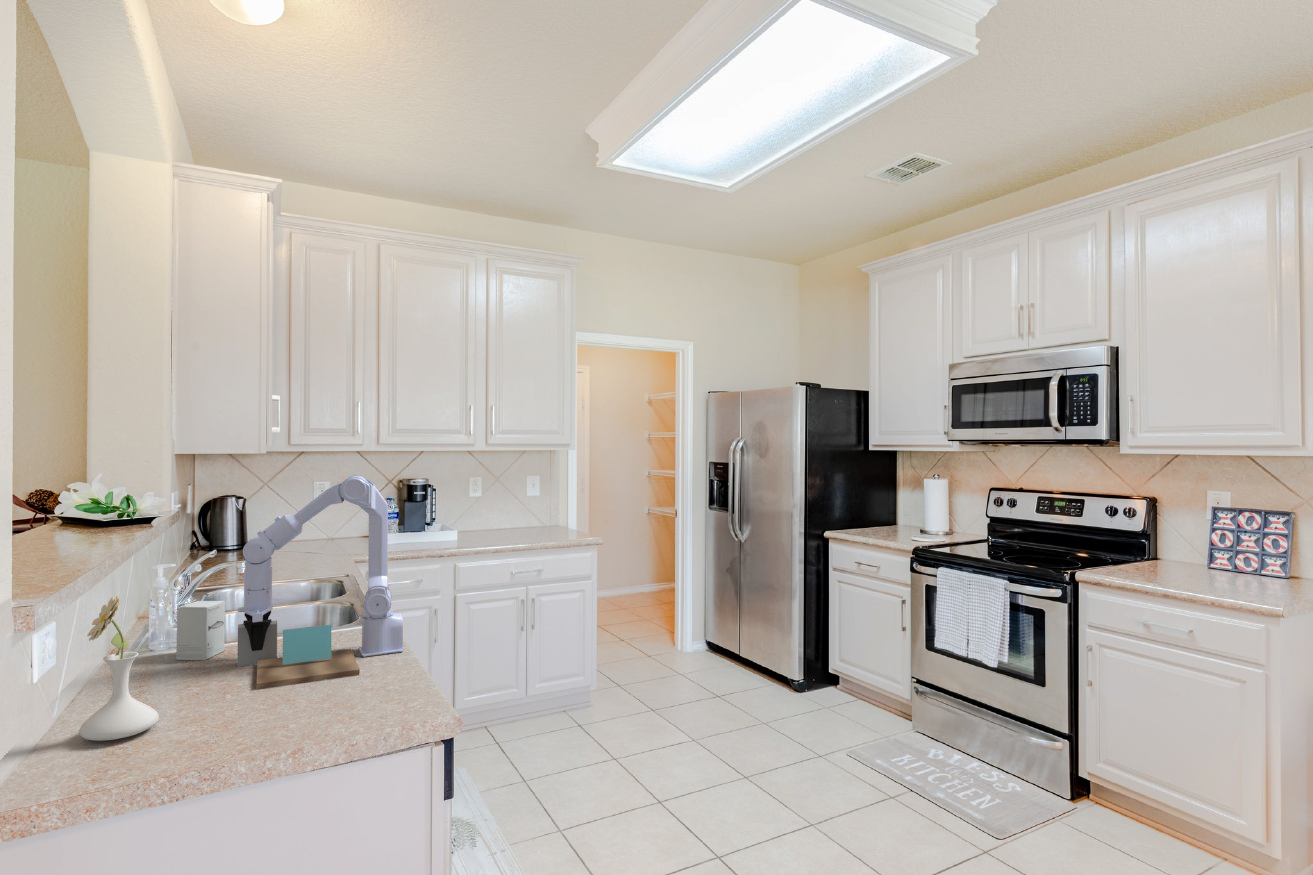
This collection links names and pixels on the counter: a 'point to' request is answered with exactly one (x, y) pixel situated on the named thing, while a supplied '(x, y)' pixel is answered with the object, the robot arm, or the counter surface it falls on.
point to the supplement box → (200, 630)
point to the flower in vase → (117, 690)
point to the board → (305, 670)
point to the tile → (306, 644)
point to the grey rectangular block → (267, 652)
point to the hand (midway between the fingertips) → (257, 646)
